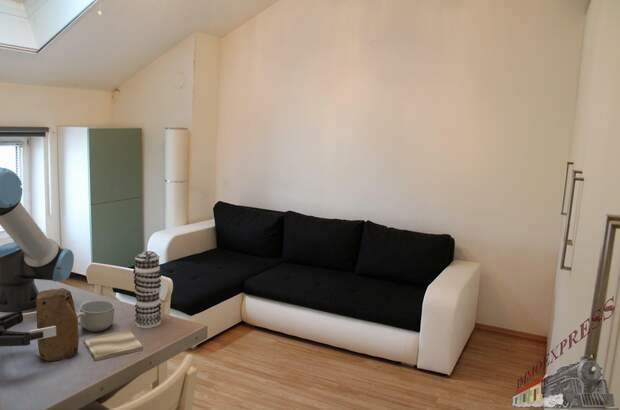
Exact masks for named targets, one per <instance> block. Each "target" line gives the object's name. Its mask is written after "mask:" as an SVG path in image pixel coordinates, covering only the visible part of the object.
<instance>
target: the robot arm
mask: <svg viewBox="0 0 620 410" xmlns="http://www.w3.org/2000/svg"><path fill="white" fill-rule="evenodd" d="M22 185H23V183H22V181H21V179H20V177H19V176H18V174H16V172H14V171H13V170H12V169H9V168H6V167H1V166H0V226H1V228H3V230H4V231H5V232H6V234H7V235H8V236H9V238H11V239H12V242H7V243H3V244H1V245H0V312H6V313H7V312H10V313H9V314H5V315H2V316H0V347H24V346H25V347H26V346H29V345H31V342H32V341H36V340H37V341H38V339H43V338H48V337H53V336H56V326H51V327H46V328H41V329H37V328H36V329H30V330H29V331H28V332H26V331H16V330H15V331H13V330H9V329H11V328H13V327H15V326H17V325H19V324H21V323H22V324H28V323H33V322H37V310H35V311H32V312H26V313H23V311H25V310H30V309H32V308H35V307H36V299H37V295H38V293H39V292H40V291H39V289H38V287H37V285H36V283H35V280H38V281H39V280H40V281H50V282H51V281H53V282H63V281H65V280H67V279H68V277H69V276H70V275H71V272H72V270H73V268H74V262H75V258H74V257H75V256H74V252H73V251H72V249H69V248H67V247H66V248H62V247H61V245H59V244H58V243H57V242H56V241H55V240H54V239H53V238H48V237H47V236H46V235H45V232H43V230H42V229H41V228H40V227H39V225H38V223H36V221H35V220H34V218H33V217H32V216H31V214H30V213H29V212H28V211H27V209H26V208H25V206H24V205H23V204H22V202H21V201H22V196H23V187H22Z"/></svg>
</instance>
